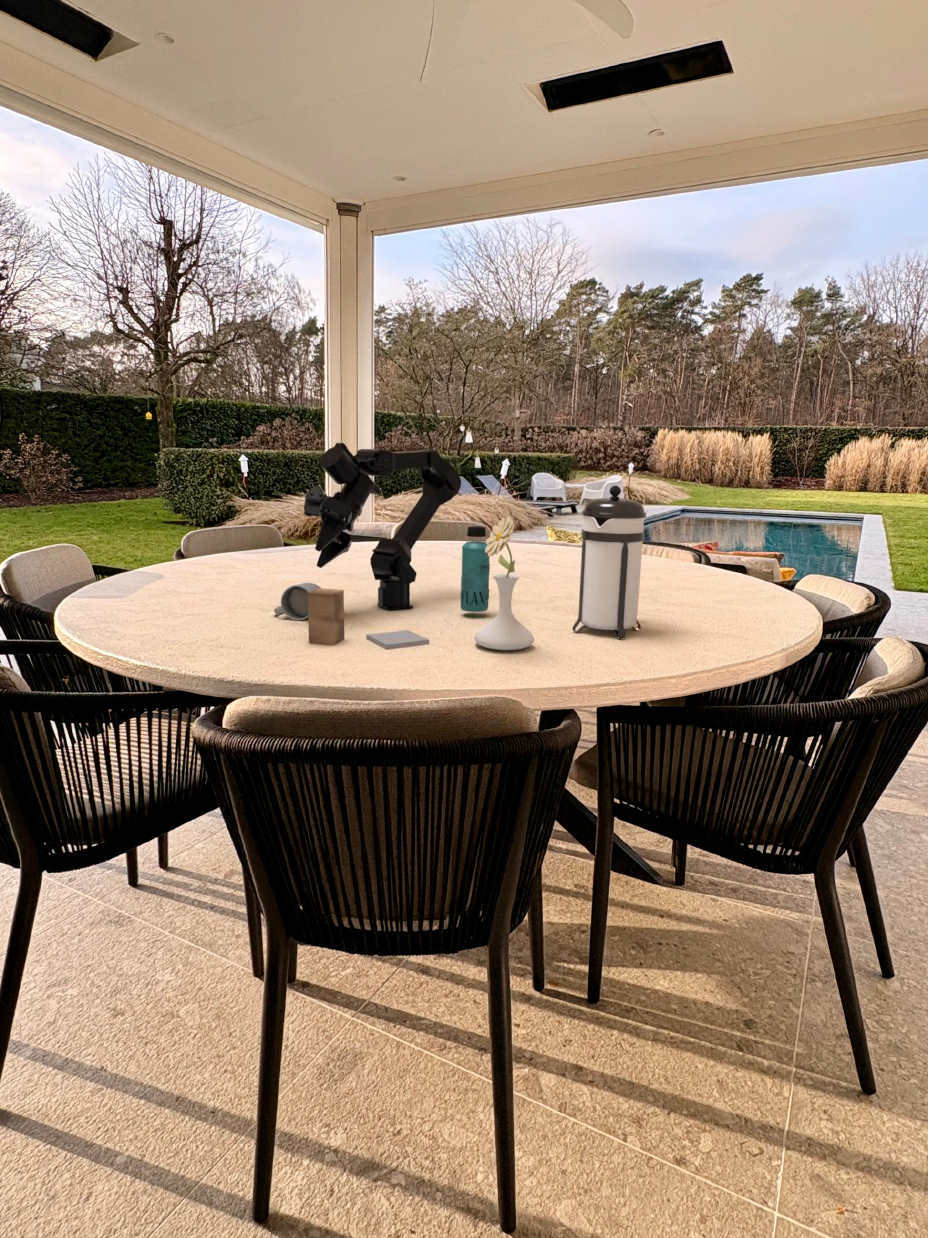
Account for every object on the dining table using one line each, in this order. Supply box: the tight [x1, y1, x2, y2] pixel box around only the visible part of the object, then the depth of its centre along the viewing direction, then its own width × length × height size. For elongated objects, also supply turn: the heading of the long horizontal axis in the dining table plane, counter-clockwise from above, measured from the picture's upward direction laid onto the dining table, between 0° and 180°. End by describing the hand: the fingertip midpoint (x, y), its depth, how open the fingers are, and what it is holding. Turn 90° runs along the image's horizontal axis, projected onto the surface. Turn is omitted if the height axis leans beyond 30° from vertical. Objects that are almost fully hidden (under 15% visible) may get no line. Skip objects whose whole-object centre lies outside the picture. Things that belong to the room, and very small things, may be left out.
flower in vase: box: [473, 516, 535, 651], centre depth 144 cm, size 13×11×25 cm
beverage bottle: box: [459, 525, 491, 613], centre depth 172 cm, size 6×7×20 cm
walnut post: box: [307, 587, 345, 647], centre depth 148 cm, size 5×5×10 cm
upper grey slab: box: [365, 629, 430, 650], centre depth 150 cm, size 9×9×1 cm
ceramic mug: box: [273, 582, 321, 621], centre depth 170 cm, size 11×8×8 cm
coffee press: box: [572, 485, 647, 640], centre depth 160 cm, size 17×16×30 cm
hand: (317, 558), depth 161 cm, fingers open, 9 cm apart
